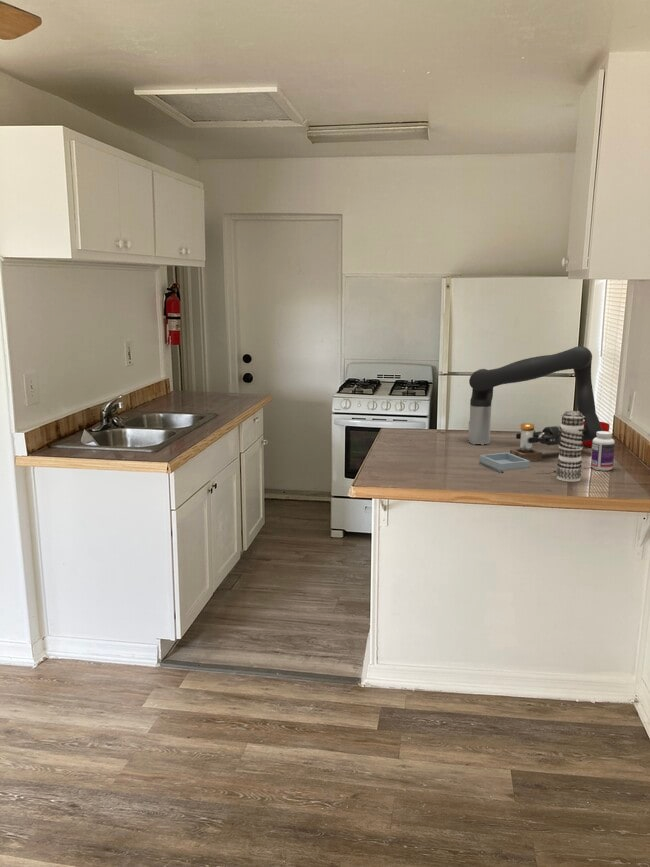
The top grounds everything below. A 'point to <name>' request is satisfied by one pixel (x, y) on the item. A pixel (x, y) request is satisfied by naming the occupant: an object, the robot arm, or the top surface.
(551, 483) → the top surface
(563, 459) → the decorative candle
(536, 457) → the square wooden frame
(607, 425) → the ceramic cup
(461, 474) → the top surface
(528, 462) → the tray
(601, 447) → the pill bottle
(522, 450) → the glass jar
